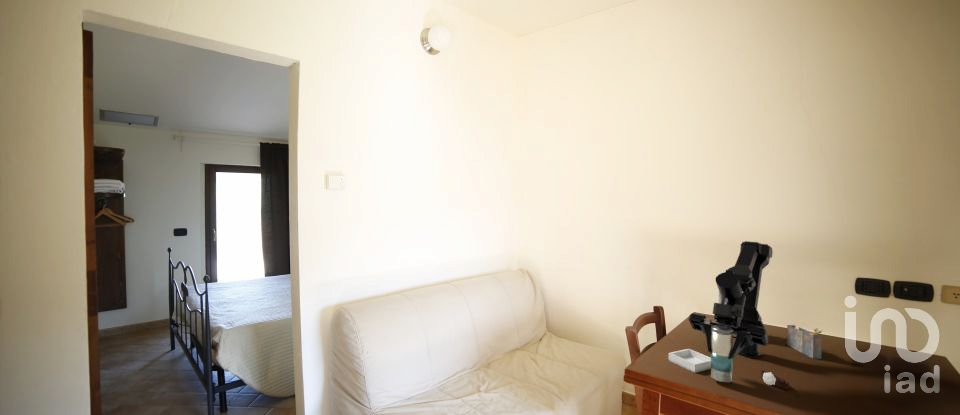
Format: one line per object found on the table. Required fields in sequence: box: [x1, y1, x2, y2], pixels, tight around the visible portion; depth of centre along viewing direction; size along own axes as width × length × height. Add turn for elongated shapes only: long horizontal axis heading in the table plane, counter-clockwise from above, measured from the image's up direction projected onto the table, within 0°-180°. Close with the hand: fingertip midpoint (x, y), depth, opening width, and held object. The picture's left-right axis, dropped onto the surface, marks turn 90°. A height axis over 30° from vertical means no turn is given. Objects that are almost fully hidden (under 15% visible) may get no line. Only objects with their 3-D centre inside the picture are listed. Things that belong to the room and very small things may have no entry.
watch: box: [760, 370, 790, 390], centre depth 104 cm, size 8×5×4 cm, turn 6°
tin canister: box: [710, 325, 734, 383], centre depth 105 cm, size 5×5×14 cm
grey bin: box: [668, 348, 711, 374], centre depth 117 cm, size 9×9×2 cm
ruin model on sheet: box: [786, 324, 823, 360], centre depth 127 cm, size 11×3×10 cm, turn 176°
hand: (720, 354), depth 104 cm, fingers closed on tin canister, 5 cm apart
